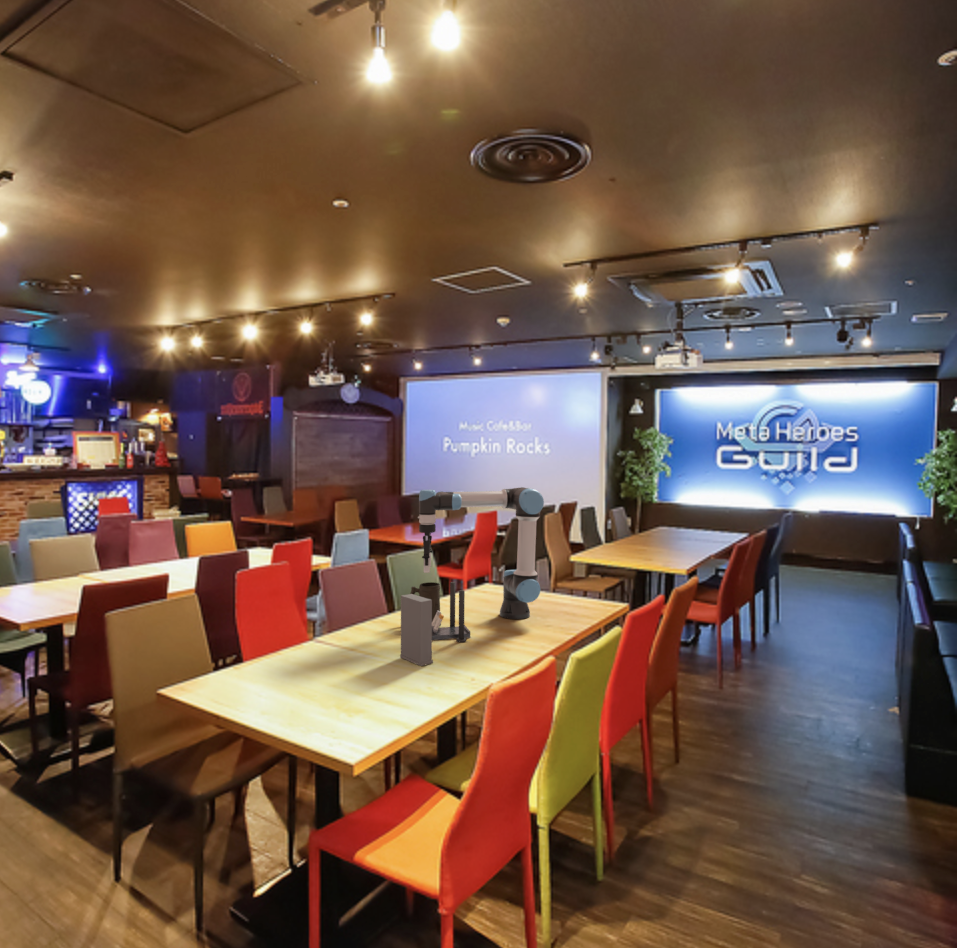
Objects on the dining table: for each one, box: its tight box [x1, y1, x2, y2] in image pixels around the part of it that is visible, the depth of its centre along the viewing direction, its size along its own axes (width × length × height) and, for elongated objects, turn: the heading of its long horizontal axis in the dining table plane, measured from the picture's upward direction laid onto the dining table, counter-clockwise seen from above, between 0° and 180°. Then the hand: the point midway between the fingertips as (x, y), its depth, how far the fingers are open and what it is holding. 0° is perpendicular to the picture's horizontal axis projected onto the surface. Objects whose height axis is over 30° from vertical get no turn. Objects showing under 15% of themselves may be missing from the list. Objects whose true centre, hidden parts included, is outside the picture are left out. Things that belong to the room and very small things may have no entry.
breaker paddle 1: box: [432, 610, 442, 630], centre depth 292 cm, size 2×4×8 cm, turn 15°
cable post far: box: [449, 581, 456, 627], centre depth 297 cm, size 4×4×22 cm
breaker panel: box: [432, 624, 471, 641], centre depth 288 cm, size 24×12×3 cm, turn 105°
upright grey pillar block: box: [399, 593, 434, 667], centre depth 254 cm, size 14×6×25 cm, turn 41°
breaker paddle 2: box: [433, 613, 445, 633], centre depth 286 cm, size 2×4×8 cm, turn 15°
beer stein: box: [409, 581, 442, 626], centre depth 305 cm, size 15×11×20 cm
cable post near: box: [455, 589, 467, 644], centre depth 280 cm, size 4×4×22 cm
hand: (427, 569), depth 297 cm, fingers open, 13 cm apart
